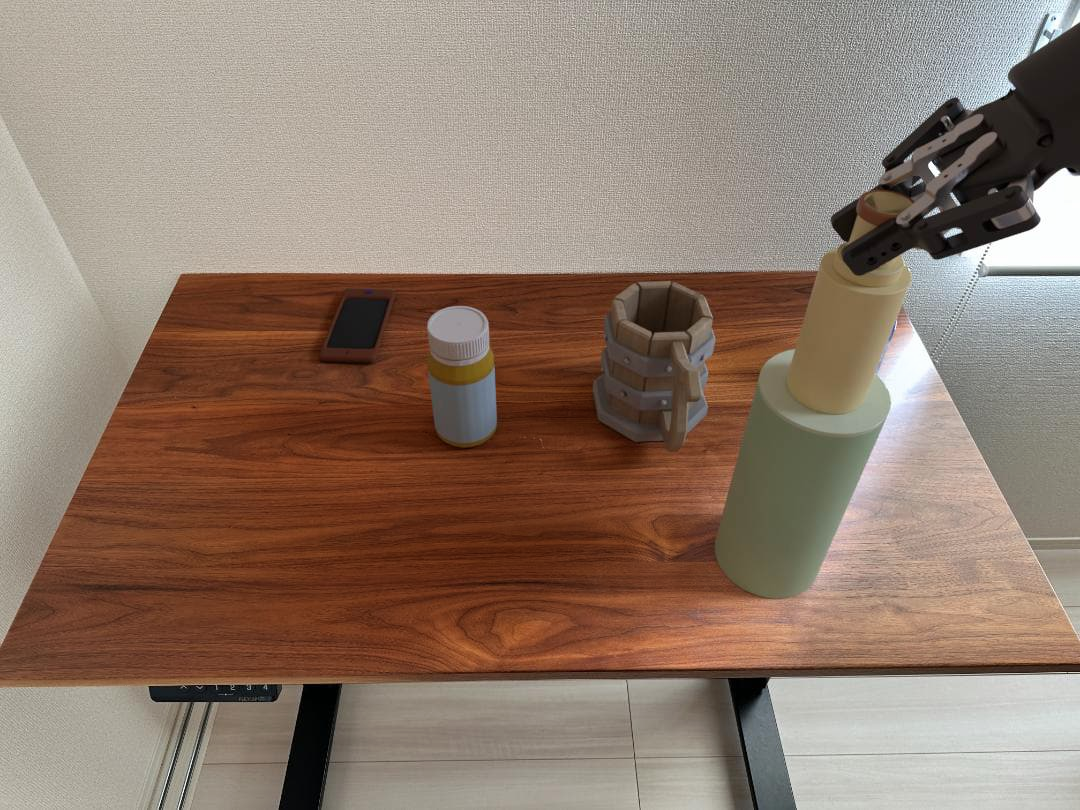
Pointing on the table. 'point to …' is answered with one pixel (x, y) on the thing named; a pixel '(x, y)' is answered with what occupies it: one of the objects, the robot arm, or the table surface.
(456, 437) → the bottle
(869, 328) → the cream bottle
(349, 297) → the smartphone
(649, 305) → the tankard
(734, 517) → the green stand
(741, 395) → the table surface
